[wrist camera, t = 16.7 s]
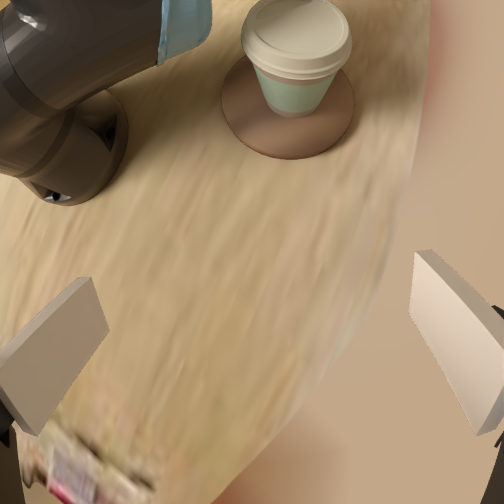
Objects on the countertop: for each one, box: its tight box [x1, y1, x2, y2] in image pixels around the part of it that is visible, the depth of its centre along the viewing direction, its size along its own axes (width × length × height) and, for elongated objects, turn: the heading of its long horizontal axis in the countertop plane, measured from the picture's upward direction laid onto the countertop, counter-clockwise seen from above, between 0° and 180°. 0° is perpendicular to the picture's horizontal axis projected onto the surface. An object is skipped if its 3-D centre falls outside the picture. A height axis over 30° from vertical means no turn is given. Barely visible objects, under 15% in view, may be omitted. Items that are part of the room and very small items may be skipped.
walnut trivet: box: [221, 55, 354, 160], centre depth 31 cm, size 14×14×2 cm
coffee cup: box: [241, 0, 352, 118], centre depth 24 cm, size 9×8×12 cm
